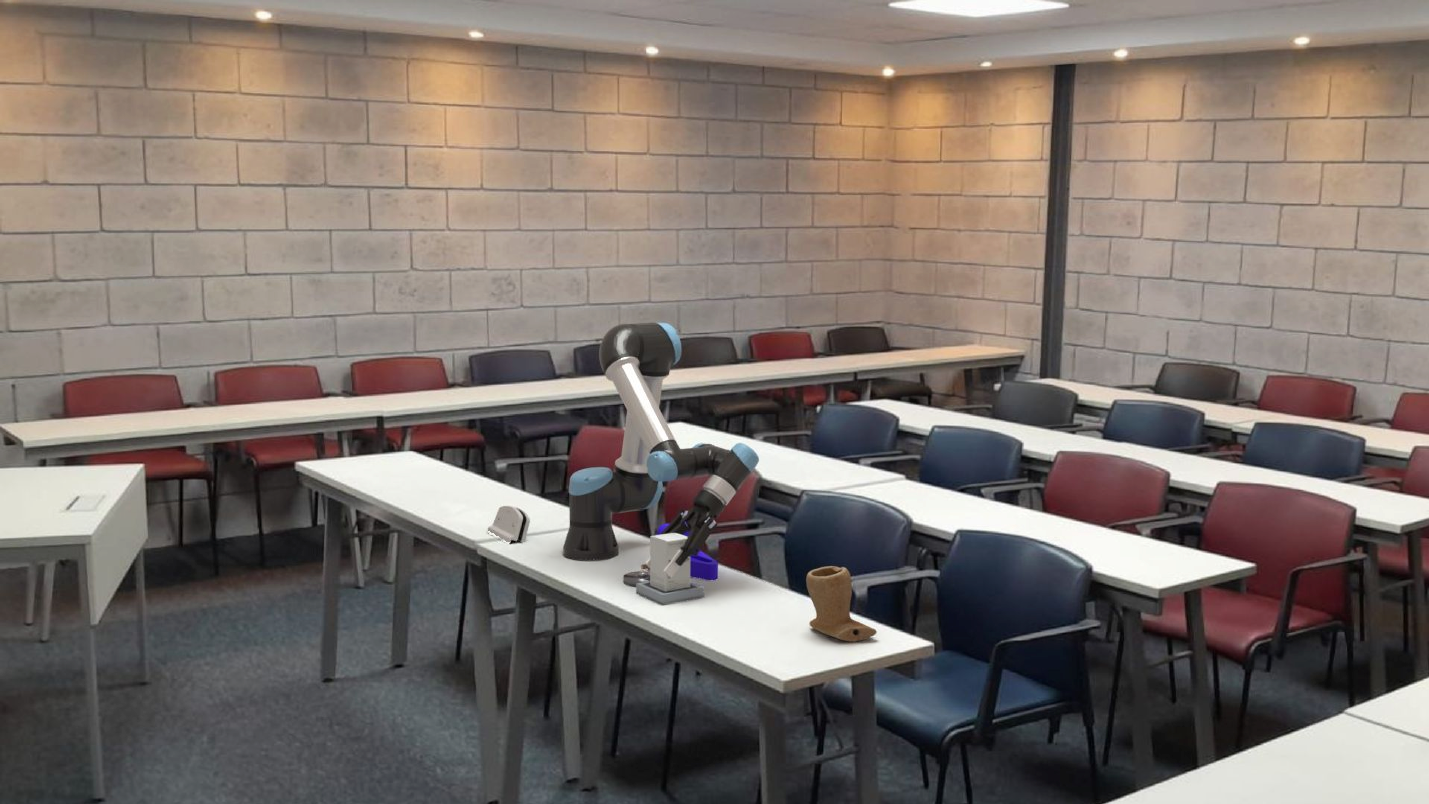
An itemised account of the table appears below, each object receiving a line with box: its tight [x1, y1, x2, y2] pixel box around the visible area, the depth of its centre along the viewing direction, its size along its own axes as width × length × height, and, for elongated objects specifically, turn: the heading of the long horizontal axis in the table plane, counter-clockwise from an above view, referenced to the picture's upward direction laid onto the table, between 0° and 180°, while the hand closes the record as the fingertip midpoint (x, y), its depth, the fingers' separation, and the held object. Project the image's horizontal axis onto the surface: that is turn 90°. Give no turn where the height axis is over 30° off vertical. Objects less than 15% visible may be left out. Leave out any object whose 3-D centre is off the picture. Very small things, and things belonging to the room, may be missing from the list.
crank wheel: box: [622, 563, 650, 588], centre depth 326 cm, size 10×10×6 cm
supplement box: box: [649, 533, 691, 592], centre depth 314 cm, size 7×7×13 cm
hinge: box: [487, 505, 531, 543], centre depth 373 cm, size 17×5×10 cm, turn 32°
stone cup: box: [805, 565, 878, 643], centre depth 284 cm, size 15×12×15 cm
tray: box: [635, 581, 705, 606], centre depth 315 cm, size 12×12×2 cm
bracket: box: [656, 522, 719, 581], centre depth 336 cm, size 18×11×12 cm, turn 38°
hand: (658, 570), depth 312 cm, fingers closed on supplement box, 7 cm apart
